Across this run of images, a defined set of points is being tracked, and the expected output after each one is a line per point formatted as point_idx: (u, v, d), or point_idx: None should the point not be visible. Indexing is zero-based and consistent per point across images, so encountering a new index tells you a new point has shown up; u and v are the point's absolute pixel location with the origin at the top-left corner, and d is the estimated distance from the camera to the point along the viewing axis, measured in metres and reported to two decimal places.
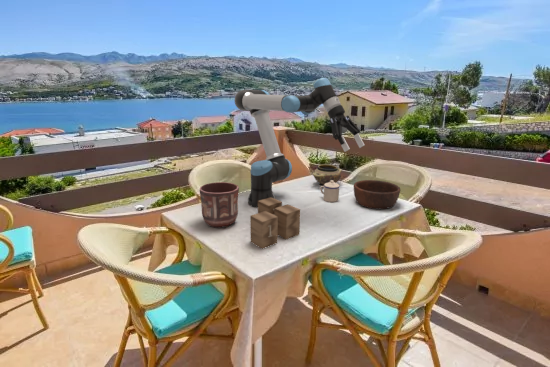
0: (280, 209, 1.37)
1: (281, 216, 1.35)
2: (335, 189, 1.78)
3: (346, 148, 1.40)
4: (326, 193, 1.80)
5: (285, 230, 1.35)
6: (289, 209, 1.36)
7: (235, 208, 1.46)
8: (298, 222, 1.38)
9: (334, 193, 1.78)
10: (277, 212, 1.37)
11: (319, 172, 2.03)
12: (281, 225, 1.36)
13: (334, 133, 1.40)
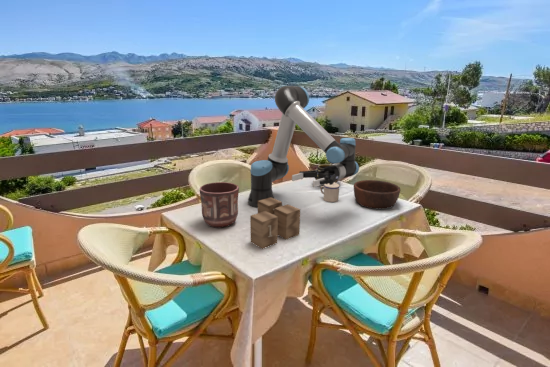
0: (280, 209, 1.37)
1: (281, 216, 1.35)
2: (335, 189, 1.78)
3: (315, 184, 1.36)
4: (326, 193, 1.80)
5: (285, 230, 1.35)
6: (289, 209, 1.36)
7: (235, 208, 1.46)
8: (298, 222, 1.38)
9: (334, 193, 1.78)
10: (277, 212, 1.37)
11: None
12: (281, 225, 1.36)
13: (332, 180, 1.39)
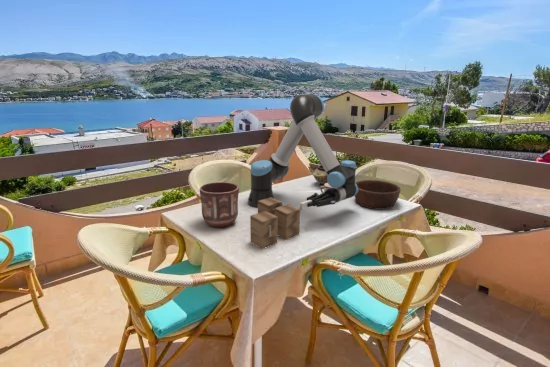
0: (280, 209, 1.37)
1: (281, 216, 1.35)
2: None
3: (303, 206, 1.42)
4: None
5: (285, 230, 1.35)
6: (289, 209, 1.36)
7: (235, 208, 1.46)
8: (298, 222, 1.38)
9: None
10: (277, 212, 1.37)
11: (319, 172, 2.03)
12: (281, 225, 1.36)
13: (320, 203, 1.44)
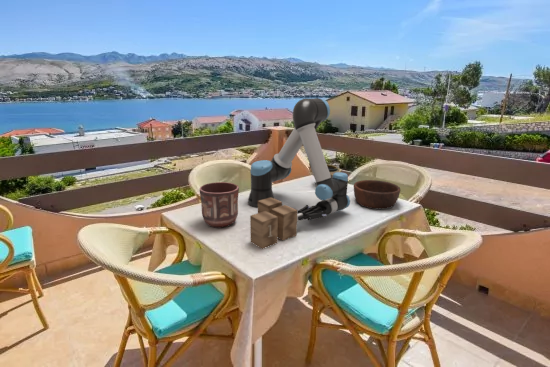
0: (277, 210, 1.36)
1: (278, 217, 1.34)
2: None
3: None
4: None
5: (282, 231, 1.34)
6: (286, 210, 1.35)
7: (235, 208, 1.46)
8: (295, 223, 1.37)
9: None
10: (274, 213, 1.35)
11: None
12: (278, 226, 1.35)
13: (311, 217, 1.43)
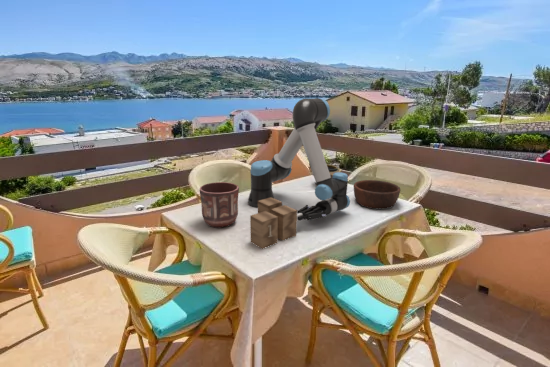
0: (276, 210, 1.36)
1: (278, 217, 1.34)
2: None
3: None
4: None
5: (282, 231, 1.34)
6: (286, 210, 1.35)
7: (235, 208, 1.46)
8: (295, 223, 1.37)
9: None
10: (274, 213, 1.35)
11: None
12: None
13: (311, 217, 1.43)
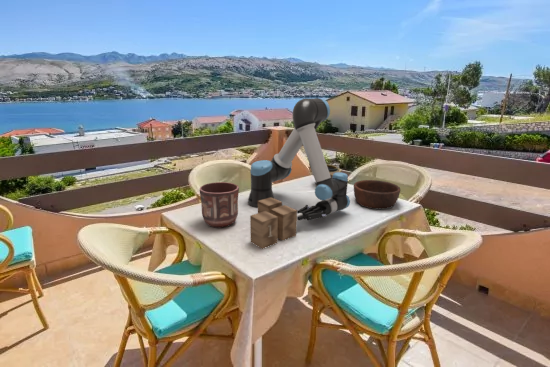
0: (276, 210, 1.36)
1: (278, 217, 1.34)
2: None
3: None
4: None
5: (282, 231, 1.34)
6: (286, 210, 1.35)
7: (235, 208, 1.46)
8: (295, 223, 1.37)
9: None
10: (274, 213, 1.35)
11: None
12: None
13: (311, 217, 1.43)
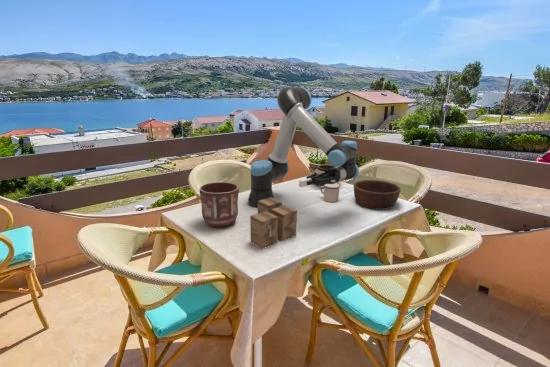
0: (276, 210, 1.36)
1: (278, 217, 1.34)
2: (335, 189, 1.78)
3: (302, 184, 1.39)
4: (326, 193, 1.80)
5: (281, 231, 1.34)
6: (286, 210, 1.35)
7: (235, 208, 1.46)
8: (295, 223, 1.37)
9: (334, 193, 1.78)
10: (274, 213, 1.35)
11: (319, 172, 2.03)
12: None
13: (320, 182, 1.42)
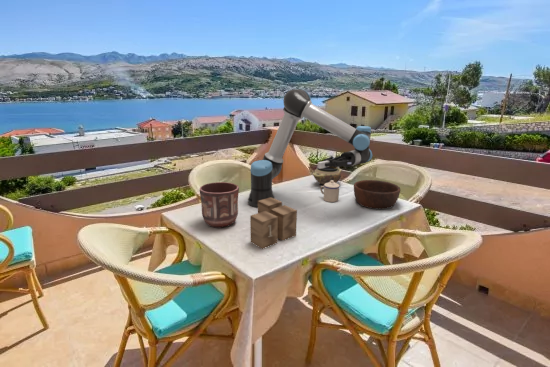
0: (276, 210, 1.36)
1: (278, 217, 1.34)
2: (335, 189, 1.78)
3: (321, 166, 1.46)
4: (326, 193, 1.80)
5: (281, 231, 1.34)
6: (285, 210, 1.35)
7: (235, 208, 1.46)
8: (295, 223, 1.37)
9: (334, 193, 1.78)
10: (274, 213, 1.35)
11: (319, 172, 2.03)
12: None
13: (337, 164, 1.49)
